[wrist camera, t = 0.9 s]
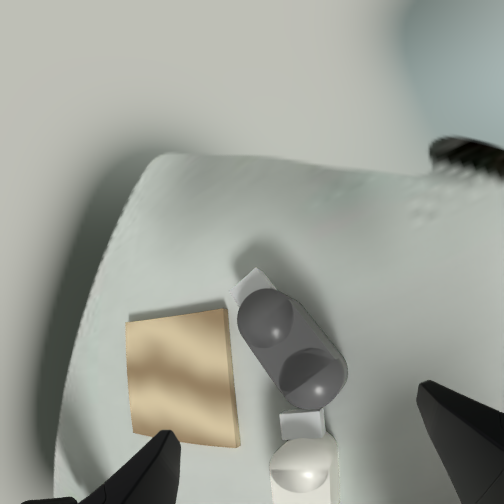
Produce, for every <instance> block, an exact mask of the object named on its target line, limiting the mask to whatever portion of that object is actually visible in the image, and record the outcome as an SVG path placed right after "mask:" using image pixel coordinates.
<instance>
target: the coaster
mask: <svg viewBox="0 0 504 504" xmlns="http://www.w3.org/2000/svg"><path fill="white" fill-rule="evenodd" d="M126 358H127V376H128V389H129V400H130V410H131V418H132V426H133V433H137V434H141V435H146V436H151V437H154V436H155V435H156V434H157V433H158V432H159V431H160V430H172V431H173V432H174V434H175V435H176V437H177V439H178V440H179V442H185V443H191V444H199V445H208V446H217V447H229V448H237V447H239V446H241V444H240V435H239V426H238V417H237V408H236V398H235V388H234V378H233V367H232V356H231V345H230V333H229V321H228V310H227V309H223V308H222V309H216V310H210V311H204V312H198V313H191V314H185V315H178V316H171V317H164V318H157V319H149V320H142V321H134V322H126Z"/></svg>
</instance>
